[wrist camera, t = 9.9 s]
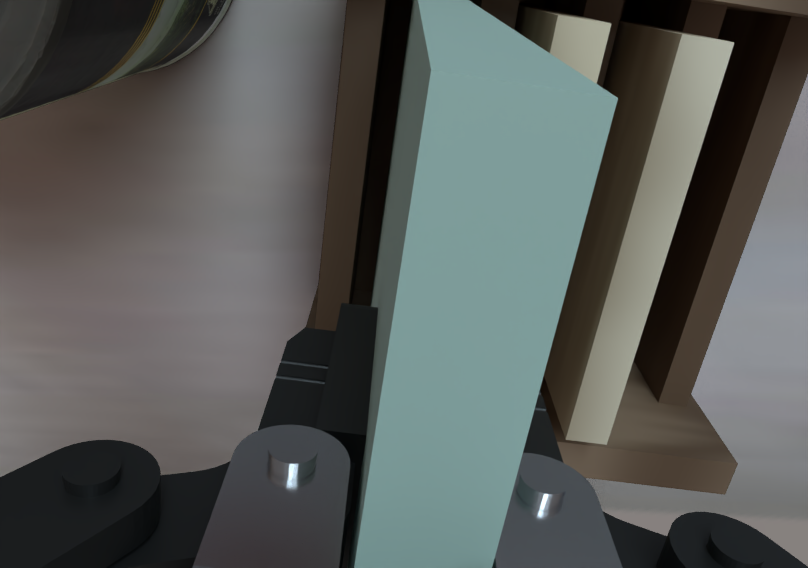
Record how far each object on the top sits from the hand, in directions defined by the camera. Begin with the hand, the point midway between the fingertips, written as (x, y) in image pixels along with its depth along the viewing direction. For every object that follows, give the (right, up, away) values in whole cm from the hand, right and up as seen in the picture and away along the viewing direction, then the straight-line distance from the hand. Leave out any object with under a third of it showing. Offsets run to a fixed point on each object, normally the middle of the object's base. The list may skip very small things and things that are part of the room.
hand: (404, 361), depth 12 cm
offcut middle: (+6, +6, +15) cm, 17 cm away
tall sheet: (0, +6, +13) cm, 15 cm away
